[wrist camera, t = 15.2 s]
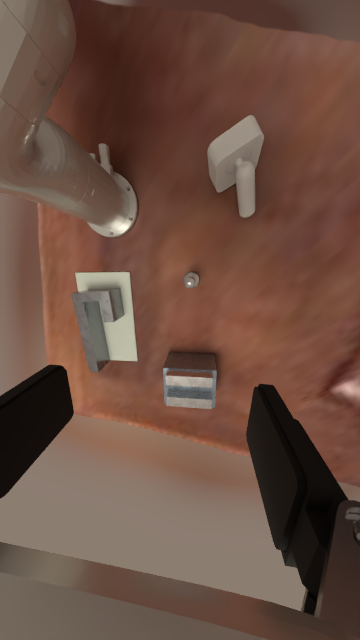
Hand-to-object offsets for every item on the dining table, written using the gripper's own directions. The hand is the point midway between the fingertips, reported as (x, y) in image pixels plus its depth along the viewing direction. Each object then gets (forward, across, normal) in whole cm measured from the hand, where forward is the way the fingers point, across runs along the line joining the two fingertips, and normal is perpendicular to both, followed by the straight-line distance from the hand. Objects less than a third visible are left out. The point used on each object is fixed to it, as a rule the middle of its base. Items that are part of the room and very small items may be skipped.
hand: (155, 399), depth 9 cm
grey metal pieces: (+36, 0, +11) cm, 38 cm away
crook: (+36, +21, +10) cm, 43 cm away
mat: (+36, +22, +8) cm, 43 cm away
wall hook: (+36, -8, -22) cm, 43 cm away
